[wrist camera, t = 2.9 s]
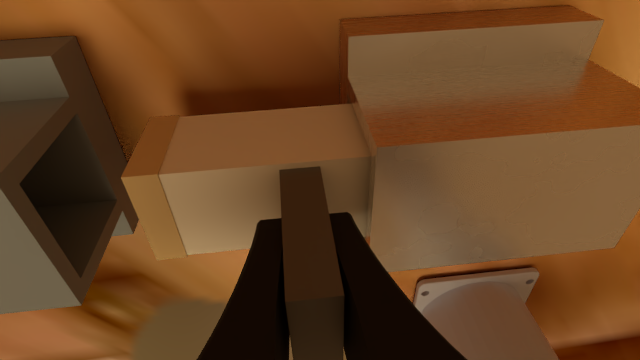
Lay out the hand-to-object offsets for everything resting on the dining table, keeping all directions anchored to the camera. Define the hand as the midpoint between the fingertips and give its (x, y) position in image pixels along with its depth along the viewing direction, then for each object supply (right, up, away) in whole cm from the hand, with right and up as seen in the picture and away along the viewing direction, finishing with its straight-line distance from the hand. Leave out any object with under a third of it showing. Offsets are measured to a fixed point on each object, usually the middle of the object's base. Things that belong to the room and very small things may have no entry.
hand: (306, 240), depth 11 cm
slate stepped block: (-11, +4, +5) cm, 12 cm away
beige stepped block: (+6, +5, +6) cm, 10 cm away
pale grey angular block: (+1, +3, +4) cm, 5 cm away
